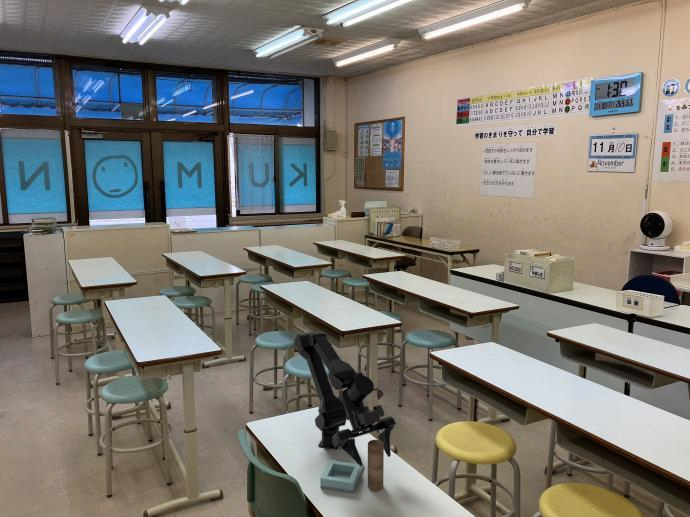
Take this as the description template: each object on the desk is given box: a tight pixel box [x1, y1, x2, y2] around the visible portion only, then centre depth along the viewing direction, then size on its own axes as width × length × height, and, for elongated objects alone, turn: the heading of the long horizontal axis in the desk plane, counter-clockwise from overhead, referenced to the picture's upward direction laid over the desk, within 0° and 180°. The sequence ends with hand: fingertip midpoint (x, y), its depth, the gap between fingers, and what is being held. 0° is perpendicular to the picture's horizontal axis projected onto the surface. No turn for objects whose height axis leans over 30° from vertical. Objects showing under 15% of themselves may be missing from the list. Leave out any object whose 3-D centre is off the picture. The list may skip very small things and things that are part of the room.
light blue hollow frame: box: [319, 459, 365, 494], centre depth 155 cm, size 13×9×3 cm
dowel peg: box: [367, 439, 385, 492], centre depth 150 cm, size 4×4×13 cm
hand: (375, 461), depth 149 cm, fingers open, 9 cm apart
